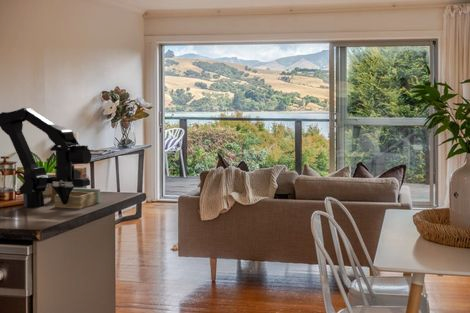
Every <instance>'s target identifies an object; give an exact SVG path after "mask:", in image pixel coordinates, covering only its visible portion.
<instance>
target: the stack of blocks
mask: <svg viewBox="0 0 470 313" xmlns="http://www.w3.org/2000/svg"><path fill="white" fill-rule="evenodd" d="M74 169H75V170H78V171H80V172H81V177H80V178H88V177H87V176H88V175H87V166H80V165H79V166H76V165H74ZM46 173H47V175H48V176H56V169H54V172H46ZM66 181H67V180H66ZM52 185H53V184H52V183H48V184H47V186H46V189H45V191H43V192H42V194H43V196H51V195H52ZM64 185H65V184H64ZM74 188H87V186H84V187H74Z"/></svg>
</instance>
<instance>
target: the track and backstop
mask: <svg viewBox="0 0 470 313" xmlns="http://www.w3.org/2000/svg"><path fill="white" fill-rule="evenodd" d="M72 191H76V192H95V204H100V203H101V189H100V188H73V189H72Z"/></svg>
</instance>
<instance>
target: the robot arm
mask: <svg viewBox="0 0 470 313" xmlns="http://www.w3.org/2000/svg"><path fill="white" fill-rule="evenodd" d="M26 121H27V122H28V123H29V124H31V125H32V126H34V127H36V128H37V129H39V130H40V131H42V132H43V133H45V135H47V137H48V139H49V140H50V141H51V142H52V143H53V144H54V145H53V146H52V147H50V149H49V150H50V151H51V152H55V165H54V166H53V170H55V169H56V177H54V176H48V175H47V173H48V172H47V170H46V168H45V166H42V167H40V166H39V165H38V164H37V162H36V159H35V158H34V156H33V153H32V151H31V148H30V147H29V144H28V142H27V139H26V137H25V135H24V133H23V126H24V124H23V122H26ZM0 129H1V130H2V131H3V132H4V133H5V134H6V135H8V137H9V139H10V141H11V143H12V146H13V147H14V149H15V152H16V154H17V156H18V159H19V161H20V163H21V166H22V167H23V181H24V182H23V184H22V185H21V186H20V187H19V188H18V190H19V193H20V195H22V197H23V207H24V208H27V209H35V208H40V207H44V206H45V195H43V194H42V192H43V191H45V189H46V186H47V184H48V183H53V186H52V188H54V189H55V191H56V192H57V194H58V195H59V197H60V199H61V201H62V203H63V204H64V205H66V204H67V202H68V199H69V196H70V193H71V191H72V189H73V188H74V187H84V186H90V185H91V181H90V179H89V177H87V178H80V177H81V172H80V171H78V170H75V169H74V166H75V165H74V164H80V165H81V164H82V165H84V164H85V165H88V164H89V163H90V162H91V161H92V152H91V151H90V150H91V149H89V146H88V145H86V144H85V145H80V143H79V141H78V140H77V139H76V137H75V136H74V132H73V130H71V129H70V128H67V127H64V126H60V125H58V124H55V123H53V122H52V121H50V120H49V119H48V118H45V117H44V116H43V115H41V114H39V113H38V112H36V111H35V110H34V109H33V108H30V107H21V108H20V109H16V110H12V111H8V112H7V111H4V112H0ZM66 180H67V181H66ZM64 184H65V185H64Z"/></svg>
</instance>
